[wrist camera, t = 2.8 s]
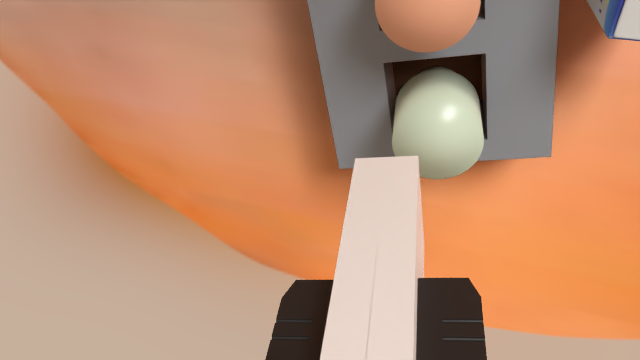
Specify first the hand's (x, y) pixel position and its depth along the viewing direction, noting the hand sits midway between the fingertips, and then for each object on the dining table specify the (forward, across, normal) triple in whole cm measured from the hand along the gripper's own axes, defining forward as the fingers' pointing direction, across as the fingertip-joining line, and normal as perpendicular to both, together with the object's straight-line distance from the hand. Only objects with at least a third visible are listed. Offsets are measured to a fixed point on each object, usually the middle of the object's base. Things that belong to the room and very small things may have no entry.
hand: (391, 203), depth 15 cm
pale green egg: (+19, +1, -7) cm, 20 cm away
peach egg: (+19, +1, 0) cm, 19 cm away
